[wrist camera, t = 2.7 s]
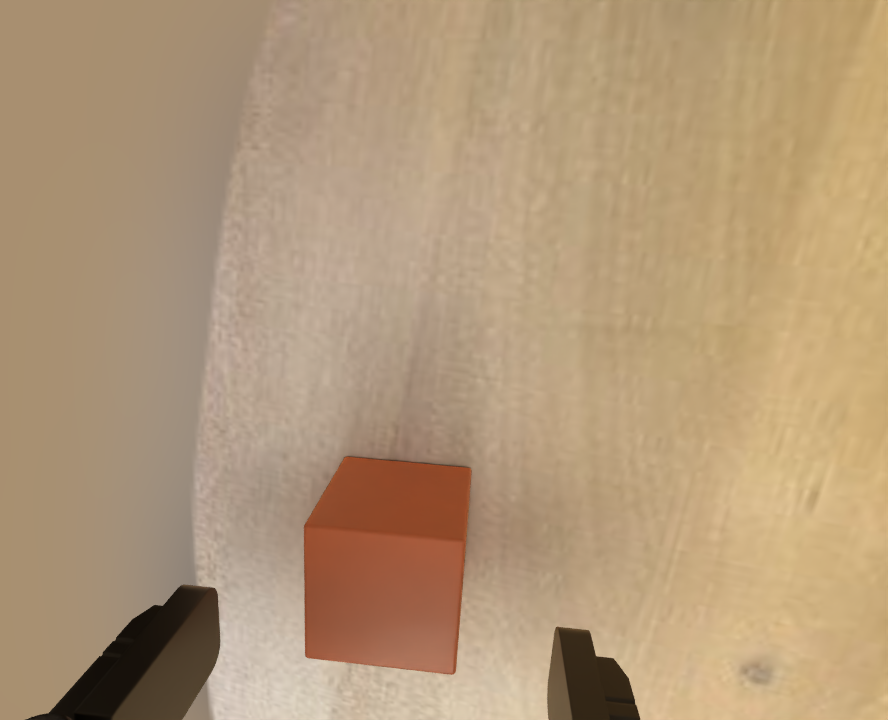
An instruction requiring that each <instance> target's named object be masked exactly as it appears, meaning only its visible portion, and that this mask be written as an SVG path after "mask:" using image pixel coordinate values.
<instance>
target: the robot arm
mask: <svg viewBox="0 0 888 720" xmlns="http://www.w3.org/2000/svg"><path fill="white" fill-rule="evenodd" d="M219 649H220V626H219V609H218V594H217V591H216V589H215V588H211V587H202V586H193V585H182V586H180V587H179V588H178V589H177V590H176V591H175V592H174V594H173V595H172V596H171V597H170V598H169V599H168V601H167V602H166V603H165V604H164V605H163V606H158V605H154V606H152V607H151V608H149V609H148V610H146V611H145V612H143V613H142V614H140V615H139V616H137V617H135V618H134V619H132V620H131V622H130V623H129V624H128V625H127V626H126V627H125V628H124V629H123V630H122V632H121V633H120V634H119V635H118V636H117V637H116V640H115V641H113V642H112V643H111V644H110V645H109V646H108V647H107V648H106V650H105V651H104V652H103V655H102V656H99V658H98V659H97V660H96V661H95V662H94V663H93V664H92V665H91V666H90V667H89V669H88V670H87V671H86V672H85V673H84V674H83V675H82V677H81V678H80V679H79V680H78V681H77V682H76V683H75V684H74V686H73V687H72V688H71V689H70V690H69V691H68V692H67V693H66V694H65V696H64V697H63V698H62V699H61V700H60V701H59V702H58V703H57V704H56V706H55V707H54V708H53V709H52V710H51V711H50V712H49V713H48V714H42V715H37V716H34V717H31V718H29V719H26V720H182V719H183V717H184V716H185V714H186V713H187V711H188V709H189V708H190V706H191V704H192V703H193V701H194V700H195V698H196V696H197V695H198V693H199V692H200V690H201V688H202V686H203V685H204V683H205V682H206V680H207V679H208V677H209V675H210V674H211V672H212V670H213V668H214V666H215V664H216V661H217V658H218V654H219ZM547 704H548V718H549V720H640V716H639V713H638V709H637V706H636V705H635V699H634V696H633V692H632V689H631V685H630V682H629V678H628V677H627V676H626V674H625V673H624V672H623V670H622V669H621V668H620V666H619V665H618V664H617V662H616V661H615V660H614V658H606V657H597V656H596V655H595V651H594V646H593V642H592V637H591V634H590V632H589V630H581V629H572V628H563V627H556V629H555V633H554V640H553V648H552V656H551V663H550V671H549V679H548V693H547Z"/></svg>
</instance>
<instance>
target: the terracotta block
mask: <svg viewBox="0 0 888 720" xmlns="http://www.w3.org/2000/svg"><path fill="white" fill-rule="evenodd" d="M471 472H472V471H471V469H470V468H465V467H454V466H443V465H432V464H421V463H410V462H400V461H389V460H378V459H367V458H356V457H345V458H344V459H343V461H342V463H341V464H340V466H339V468H338V469H337V471H336V473H335V474H334V476H333V478H332V479H331V481H330V483H329V485H328V486H327V488H326V490H325V491H324V493H323V495H322V496H321V498H320V500H319V501H318V503H317V505H316V506H315V508H314V510H313V511H312V513H311V515H310V517H309V518H308V520H307V522H306V523H305V525H304V580H305V656H306V657H307V658H312V659H321V660H330V661H338V662H347V663H356V664H364V665H373V666H382V667H391V668H399V669H408V670H417V671H425V672H434V673H443V674H451V675H452V674H454V673H455V672H456V663H457V650H458V638H459V625H460V613H461V600H462V588H463V575H464V562H465V550H466V537H467V524H468V511H469V498H470V485H471Z"/></svg>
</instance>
